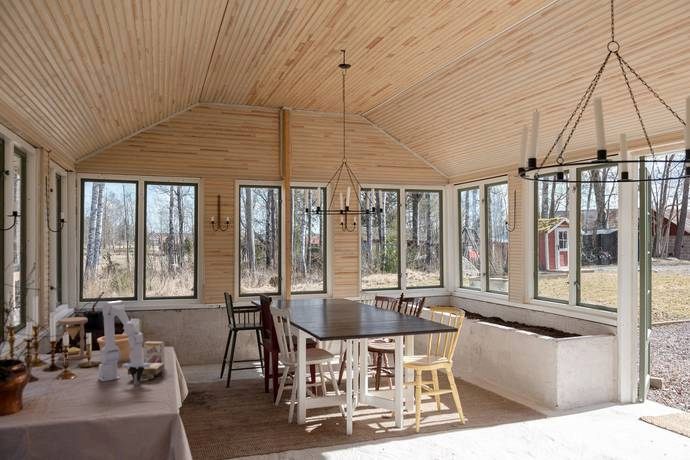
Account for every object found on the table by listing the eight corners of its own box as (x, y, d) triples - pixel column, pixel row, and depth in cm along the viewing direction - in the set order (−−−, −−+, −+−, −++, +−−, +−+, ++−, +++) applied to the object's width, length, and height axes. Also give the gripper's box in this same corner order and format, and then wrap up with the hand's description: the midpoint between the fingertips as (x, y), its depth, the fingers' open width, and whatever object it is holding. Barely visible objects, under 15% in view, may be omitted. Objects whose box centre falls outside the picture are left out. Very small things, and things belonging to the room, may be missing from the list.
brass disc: (141, 381, 308) (141, 379, 308) (137, 379, 312) (137, 377, 312) (150, 379, 311) (150, 378, 311) (146, 378, 315) (146, 376, 315)
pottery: (97, 358, 364) (96, 336, 363) (133, 354, 373) (132, 333, 373) (97, 365, 344) (97, 342, 344) (135, 361, 353) (135, 339, 353)
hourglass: (52, 358, 363) (51, 320, 363) (74, 353, 379) (74, 316, 379) (72, 361, 356) (71, 322, 356) (94, 355, 372) (93, 317, 372)
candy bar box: (143, 370, 331) (143, 342, 331) (147, 368, 336) (146, 341, 336) (161, 370, 330) (161, 343, 330) (165, 368, 335) (164, 341, 335)
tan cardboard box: (127, 380, 309) (127, 368, 309) (136, 375, 321) (136, 362, 321) (156, 380, 308) (156, 368, 308) (164, 375, 320) (164, 362, 320)
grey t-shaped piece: (128, 385, 300) (128, 374, 300) (139, 377, 315) (139, 367, 315) (142, 385, 300) (142, 374, 300) (153, 377, 315) (153, 367, 315)
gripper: (120, 357, 298) (120, 383, 298) (146, 357, 297) (147, 383, 297) (125, 354, 305) (126, 379, 305) (151, 354, 304) (152, 379, 305)
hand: (136, 380), depth 302 cm, fingers closed on grey t-shaped piece
